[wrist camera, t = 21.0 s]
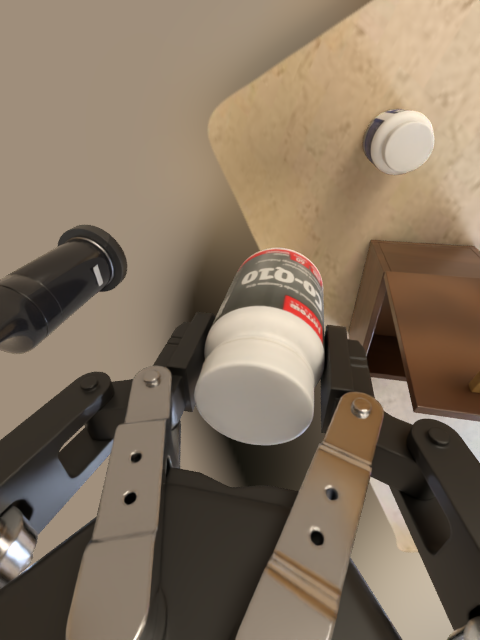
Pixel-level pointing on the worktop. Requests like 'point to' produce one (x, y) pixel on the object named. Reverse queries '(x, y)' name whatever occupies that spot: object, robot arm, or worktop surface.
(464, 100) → the worktop surface
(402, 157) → the pill bottle
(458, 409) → the lid
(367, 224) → the worktop surface
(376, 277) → the chest
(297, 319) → the pill bottle
